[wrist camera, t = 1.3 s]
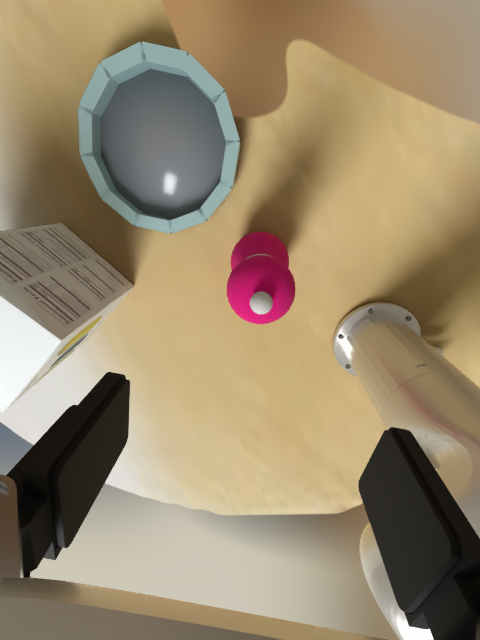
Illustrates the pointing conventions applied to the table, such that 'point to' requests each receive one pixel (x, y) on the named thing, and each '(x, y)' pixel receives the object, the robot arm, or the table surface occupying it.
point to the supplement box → (49, 302)
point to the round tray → (158, 137)
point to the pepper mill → (260, 279)
